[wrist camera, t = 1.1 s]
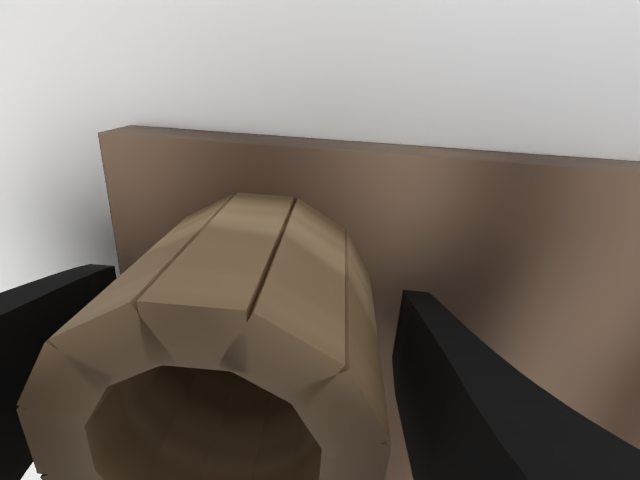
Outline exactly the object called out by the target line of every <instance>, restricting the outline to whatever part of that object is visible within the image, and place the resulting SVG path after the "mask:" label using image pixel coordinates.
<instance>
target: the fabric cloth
mask: <svg viewBox="0 0 640 480" xmlns="http://www.w3.org/2000/svg"><path fill="white" fill-rule="evenodd" d="M98 137H99V143H100V149H101V155H102V162H103V168H104V174H105V180H106V187H107V193H108V199H109V205H110V212H111V218H112V224H113V230H114V237H115V243H116V249H117V255H118V262H119V268H120V274H122V273H124V272H125V271H126V270H127V269H128V268H129V267H130V266H131V265H133V264H134V263H135V262H136V261H137V260H138V259H139V258H140V257H142V256H143V255H144V254H145V253H146V252H147V251H148V250H150V249H151V248H152V247H153V246H154V245H155V244H156V243H157V242H159V241H160V240H161V239H162V238H163V237H164V236H165V235H166V234H168V233H169V232H170V231H171V230H172V229H173V228H174V227H176V226H177V225H178V224H179V223H180V222H181V221H182V220H183V219H185V218H186V217H187V216H189V215H191V214H193V213H195V212H197V211H199V210H201V209H203V208H205V207H207V206H209V205H211V204H213V203H215V202H217V201H219V200H221V199H223V198H225V197H227V196H229V195H231V194H233V193H234V194H235V195H236V194H237V192H238V193H251V194H264V195H277V196H290V197H294V203H295V202H296V200H297V199H298V198H299V199H300V200H302V201H303V202H305V203H306V204H308V205H309V206H311V207H313V208H314V209H316V210H317V211H319V212H320V213H322V214H323V215H325V216H326V217H328V218H329V219H331V220H333V221H334V222H336V223H337V224H339V225H340V226H342V227H343V228H345V232H347V231H348V233H349V235H350V237H351V239H352V241H353V243H354V245H355V247H356V249H357V251H358V253H359V255H360V257H361V259H362V261H363V263H364V265H365V267H366V269H367V271H368V273H369V275H370V279H371V287H372V295H373V303H374V311H375V319H376V327H377V335H378V343H379V351H380V359H381V366H382V374H383V382H384V390H385V398H386V406H387V414H388V422H389V430H390V438H391V450H390V456H389V461H388V466H387V472H386V477H385V480H413V476H412V471H411V467H410V462H409V457H408V453H407V448H406V444H405V439H404V434H403V430H402V425H401V421H400V416H399V411H398V406H397V401H396V397H395V388H394V378H393V365H392V353H393V347H394V341H395V335H396V329H397V323H398V317H399V311H400V305H401V299H402V293H403V290H410V291H423V292H429V293H430V294H431V295H433V296H434V297H435V298H436V299H437V300H438V301H439V302H440V303H441V304H442V305H444V306H445V307H446V308H447V309H448V310H449V311H450V312H451V313H452V314H453V315H454V316H455V317H456V318H457V319H458V320H460V321H461V322H462V323H463V324H464V325H465V326H466V327H467V328H468V329H469V330H470V331H472V332H473V333H474V334H475V335H476V336H477V337H478V338H479V339H481V340H482V341H483V342H484V343H485V344H486V345H488V346H489V347H490V348H491V349H492V350H493V351H495V352H496V353H497V354H498V355H499V356H501V357H502V358H503V359H504V360H506V361H507V362H508V363H509V364H511V365H512V366H513V367H514V368H516V369H517V370H518V371H519V372H521V373H522V374H523V375H525V376H526V377H527V378H529V379H530V380H532V381H533V382H534V383H536V384H537V385H538V386H540V387H541V388H543V389H544V390H546V391H547V392H549V393H550V394H551V395H553V396H554V397H556V398H557V399H559V400H560V401H562V402H563V403H564V404H566V405H567V406H569V407H570V408H572V409H573V410H575V411H577V412H578V413H580V414H581V415H583V416H584V417H586V418H588V419H589V420H591V421H592V422H594V423H596V424H597V425H599V426H601V427H602V428H604V429H606V430H607V431H609V432H611V433H612V434H614V435H616V436H617V437H619V438H621V439H622V440H624V441H626V442H627V443H629V444H631V445H632V446H634V447H636V448H638V449H639V450H640V162H636V161H622V160H608V159H594V158H580V157H566V156H552V155H538V154H524V153H510V152H496V151H482V150H468V149H454V148H440V147H425V146H411V145H397V144H383V143H369V142H355V141H341V140H327V139H313V138H299V137H285V136H271V135H257V134H243V133H229V132H215V131H201V130H187V129H173V128H159V127H145V126H131V125H130V126H126V127H121V128H117V129H112V130H108V131H104V132H99V133H98Z"/></svg>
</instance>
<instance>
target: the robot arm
mask: <svg viewBox="0 0 640 480" xmlns="http://www.w3.org/2000/svg"><path fill="white" fill-rule="evenodd" d="M114 280H116V273H115V267H114V266H106V265H94V264H89V265H85V266H80V267H77V268H73V269H70V270H66V271H63V272H60V273H57V274H54V275H51V276H48V277H45V278H42V279H39V280H36V281H33V282H30V283H27V284H25V285H22V286H19V287H16V288H13V289H10V290H7V291H4V292H2V293H0V480H21V478H22V476H23V475H24V473H25V472H26V471H27V469H28V468H29V467H30V465H31V464H32V462H33V458H32V455H31V452H30V449H29V446H28V443H27V440H26V437H25V434H24V431H23V428H22V425H21V422H20V419H19V416H18V413H17V410H16V409H17V408H18V407H19V406H17V403H18V400H19V398H20V396H21V394H22V392H23V389H24V387H25V385H26V383H27V380H28V378H29V376H30V374H31V372H32V369H33V367H34V365H35V363H36V360H37V358H38V356H39V354H40V352H41V349H42V347H43V345H44V343H45V342H46V341H47V340H48V339H49V338H50V337H51V336H52V335H53V334H55V333H56V332H57V331H58V330H59V329H60V328H61V327H62V326H64V325H65V324H66V323H67V322H68V321H69V320H70V319H72V318H73V317H74V316H75V315H76V314H77V313H78V312H79V311H81V310H82V309H83V308H84V307H85V306H86V305H87V304H88V303H90V302H91V301H92V300H93V299H94V298H95V297H96V296H98V295H99V294H100V293H101V292H102V291H103V290H104V289H105V288H107V287H108V286H109V285H110V284H111V283H112V282H113V281H114ZM392 365H393V378H394V388H395V397H396V401H397V406H398V411H399V416H400V421H401V425H402V430H403V434H404V439H405V444H406V448H407V453H408V457H409V462H410V467H411V471H412V476H413V480H640V450H639V449H638V448H636V447H634V446H632V445H631V444H629V443H627V442H626V441H624V440H622V439H621V438H619V437H617V436H616V435H614V434H612V433H611V432H609V431H607V430H606V429H604V428H602V427H601V426H599V425H597V424H596V423H594V422H592V421H591V420H589V419H588V418H586V417H584V416H583V415H581V414H580V413H578V412H577V411H575V410H573V409H572V408H570V407H569V406H567V405H566V404H564V403H563V402H562V401H560V400H559V399H557V398H556V397H554V396H553V395H551V394H550V393H549V392H547V391H546V390H544V389H543V388H541V387H540V386H538V385H537V384H536V383H534V382H533V381H532V380H530V379H529V378H527V377H526V376H525V375H523V374H522V373H521V372H519V371H518V370H517V369H516V368H514V367H513V366H512V365H511V364H509V363H508V362H507V361H506V360H504V359H503V358H502V357H501V356H499V355H498V354H497V353H496V352H495V351H493V350H492V349H491V348H490V347H489V346H488V345H486V344H485V343H484V342H483V341H482V340H481V339H479V338H478V337H477V336H476V335H475V334H474V333H473V332H472V331H470V330H469V329H468V328H467V327H466V326H465V325H464V324H463V323H462V322H461V321H460V320H458V319H457V318H456V317H455V316H454V315H453V314H452V313H451V312H450V311H449V310H448V309H447V308H446V307H445V306H444V305H442V304H441V303H440V302H439V301H438V300H437V299H436V298H435V297H434V296H433V295H431V294H430V293H429V292H423V291H410V290H403V293H402V299H401V305H400V311H399V317H398V323H397V329H396V335H395V341H394V347H393V353H392Z"/></svg>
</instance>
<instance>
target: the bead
mask: <svg viewBox="0 0 640 480" xmlns="http://www.w3.org/2000/svg"><path fill="white" fill-rule="evenodd" d="M17 406H19V407H18V408H17V409H16V410H17V413H18V416H19V419H20V422H21V425H22V428H23V431H24V434H25V437H26V440H27V443H28V446H29V449H30V452H31V455H32V458H33V461H34V465H35V468H36V471H37V473H39V474H42V476H41V477H40V478H41V479H42V480H385V477H386V472H387V466H388V461H389V456H390V450H391V438H390V430H389V422H388V414H387V406H386V398H385V390H384V382H383V374H382V366H381V359H380V351H379V343H378V335H377V327H376V319H375V311H374V303H373V295H372V287H371V279H370V275H369V273H368V271H367V269H366V267H365V265H364V263H363V261H362V259H361V257H360V255H359V253H358V251H357V249H356V247H355V245H354V243H353V241H352V239H351V237H350V235H349V233H348V231H347V232H345V228H343V227H342V226H340V225H339V224H337V223H336V222H334V221H333V220H331V219H329V218H328V217H326V216H325V215H323V214H322V213H320V212H319V211H317V210H316V209H314V208H313V207H311V206H309V205H308V204H306V203H305V202H303V201H302V200H300V199H299V198H298V199H297V200H296V202H295V203H294V197H290V196H277V195H264V194H251V193H238V192H237V194H236V195H235V194H234V193H233V194H231V195H229V196H227V197H225V198H223V199H221V200H219V201H217V202H215V203H213V204H211V205H209V206H207V207H205V208H203V209H201V210H199V211H197V212H195V213H193V214H191V215H189V216H187V217H186V218H185V219H183V220H182V221H181V222H180V223H179V224H178V225H177V226H176V227H174V228H173V229H172V230H171V231H170V232H169V233H168V234H166V235H165V236H164V237H163V238H162V239H161V240H160V241H159V242H157V243H156V244H155V245H154V246H153V247H152V248H151V249H150V250H148V251H147V252H146V253H145V254H144V255H143V256H142V257H140V258H139V259H138V260H137V261H136V262H135V263H134V264H133V265H131V266H130V267H129V268H128V269H127V270H126V271H125V272H124V273H122V274H121V275H120V276H119V277H118V278H117V279H116V280H114V281H113V282H112V283H111V284H110V285H109V286H108V287H107V288H105V289H104V290H103V291H102V292H101V293H100V294H99V295H98V296H96V297H95V298H94V299H93V300H92V301H91V302H90V303H88V304H87V305H86V306H85V307H84V308H83V309H82V310H81V311H79V312H78V313H77V314H76V315H75V316H74V317H73V318H72V319H70V320H69V321H68V322H67V323H66V324H65V325H64V326H62V327H61V328H60V329H59V330H58V331H57V332H56V333H55V334H53V335H52V336H51V337H50V338H49V339H48V340H47V341H46V342H45V343H44V345H43V347H42V349H41V352H40V354H39V356H38V358H37V360H36V363H35V365H34V367H33V369H32V372H31V374H30V376H29V378H28V380H27V383H26V385H25V387H24V389H23V392H22V394H21V396H20V398H19V400H18V403H17Z"/></svg>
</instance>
